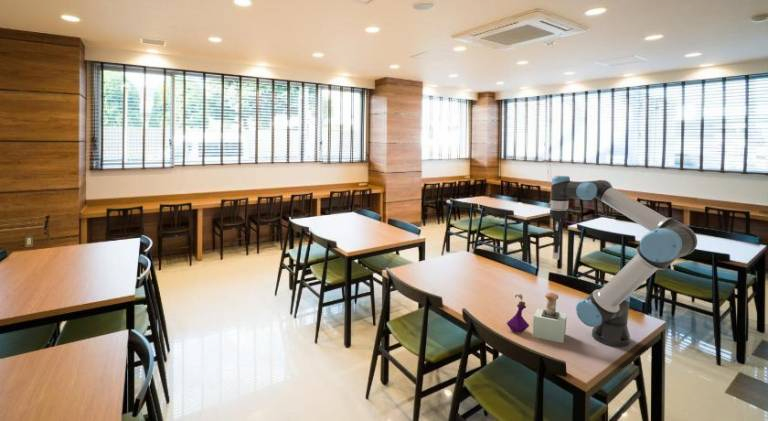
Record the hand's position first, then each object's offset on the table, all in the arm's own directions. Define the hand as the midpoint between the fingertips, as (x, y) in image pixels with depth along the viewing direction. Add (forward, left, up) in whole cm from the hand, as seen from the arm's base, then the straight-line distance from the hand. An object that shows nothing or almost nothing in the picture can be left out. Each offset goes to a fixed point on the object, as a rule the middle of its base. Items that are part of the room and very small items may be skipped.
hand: (555, 258), depth 188 cm
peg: (0, +10, -25) cm, 26 cm away
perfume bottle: (+13, +12, -34) cm, 39 cm away
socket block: (0, +10, -34) cm, 36 cm away
